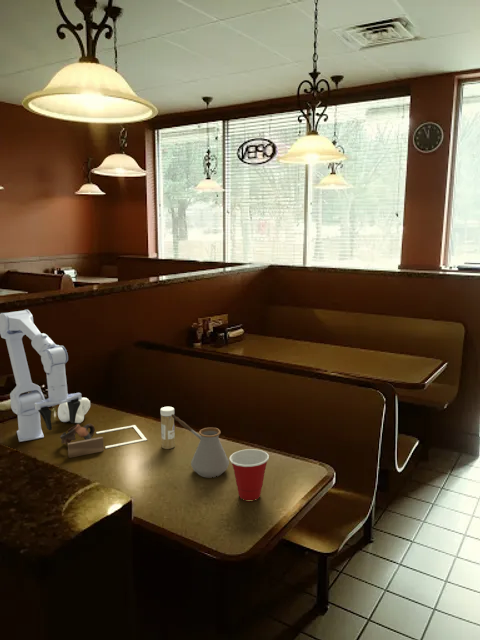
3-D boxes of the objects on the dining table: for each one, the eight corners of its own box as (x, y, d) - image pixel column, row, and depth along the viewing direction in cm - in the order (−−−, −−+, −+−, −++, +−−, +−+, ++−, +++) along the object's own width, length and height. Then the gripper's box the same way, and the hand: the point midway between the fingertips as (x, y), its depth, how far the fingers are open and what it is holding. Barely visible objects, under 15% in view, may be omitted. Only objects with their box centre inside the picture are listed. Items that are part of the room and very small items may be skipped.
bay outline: (96, 432, 184) (96, 432, 184) (135, 425, 191) (135, 424, 191) (105, 448, 172) (105, 447, 172) (147, 440, 178) (147, 439, 178)
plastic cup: (245, 482, 150) (246, 443, 148) (276, 494, 144) (277, 454, 141) (221, 497, 142) (221, 456, 140) (252, 511, 136) (252, 468, 133)
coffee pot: (236, 469, 158) (236, 423, 155) (213, 485, 149) (213, 436, 146) (183, 451, 170) (182, 408, 167) (159, 464, 161) (157, 419, 158)
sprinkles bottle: (175, 449, 172) (174, 410, 169) (161, 449, 171) (160, 411, 169) (175, 443, 176) (174, 405, 174) (161, 443, 176) (160, 406, 173)
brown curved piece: (80, 456, 168) (66, 435, 166) (65, 460, 173) (52, 440, 172) (106, 434, 177) (92, 414, 176) (91, 439, 183) (78, 420, 182)
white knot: (84, 411, 204) (82, 390, 203) (97, 421, 195) (95, 398, 193) (55, 418, 197) (53, 396, 195) (67, 428, 188) (66, 405, 186)
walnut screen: (68, 456, 166) (67, 443, 165) (102, 449, 171) (102, 436, 170) (69, 457, 165) (68, 444, 164) (103, 450, 170) (103, 438, 169)
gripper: (39, 392, 156) (43, 435, 159) (84, 382, 166) (87, 422, 168) (30, 388, 162) (34, 429, 164) (74, 378, 171) (78, 417, 173)
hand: (61, 425), depth 166 cm, fingers open, 7 cm apart
